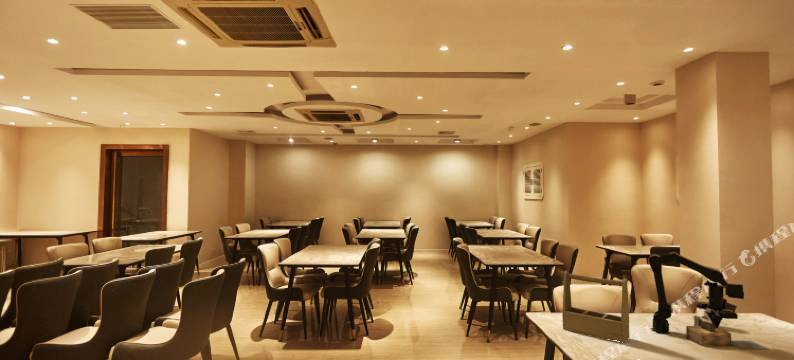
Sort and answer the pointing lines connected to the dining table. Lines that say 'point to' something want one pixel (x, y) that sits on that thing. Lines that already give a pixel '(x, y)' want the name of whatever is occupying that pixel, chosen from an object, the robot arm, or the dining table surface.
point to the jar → (702, 312)
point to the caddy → (595, 313)
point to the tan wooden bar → (701, 319)
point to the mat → (747, 345)
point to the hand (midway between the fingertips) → (716, 327)
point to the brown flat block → (708, 339)
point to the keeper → (698, 320)
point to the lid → (707, 329)
